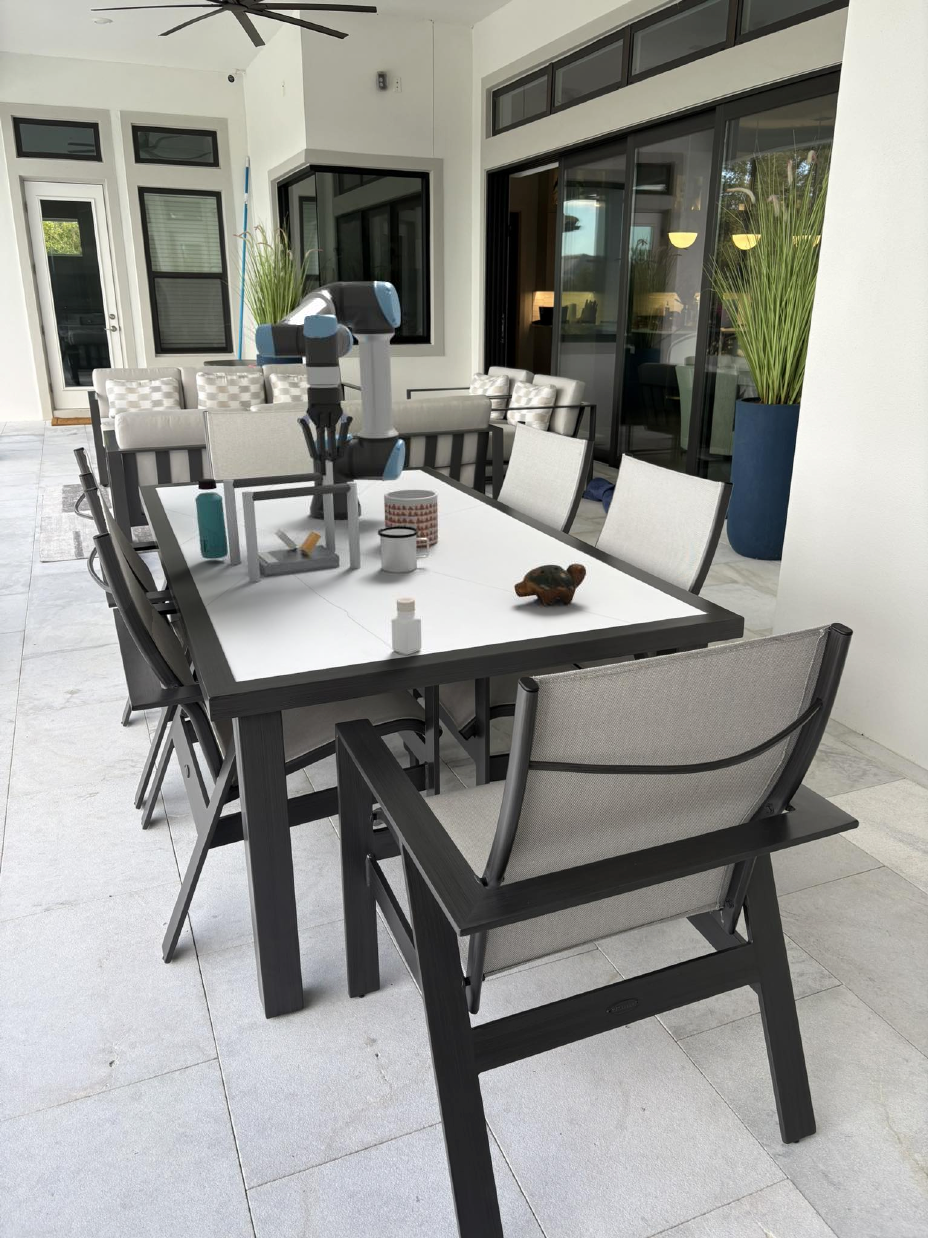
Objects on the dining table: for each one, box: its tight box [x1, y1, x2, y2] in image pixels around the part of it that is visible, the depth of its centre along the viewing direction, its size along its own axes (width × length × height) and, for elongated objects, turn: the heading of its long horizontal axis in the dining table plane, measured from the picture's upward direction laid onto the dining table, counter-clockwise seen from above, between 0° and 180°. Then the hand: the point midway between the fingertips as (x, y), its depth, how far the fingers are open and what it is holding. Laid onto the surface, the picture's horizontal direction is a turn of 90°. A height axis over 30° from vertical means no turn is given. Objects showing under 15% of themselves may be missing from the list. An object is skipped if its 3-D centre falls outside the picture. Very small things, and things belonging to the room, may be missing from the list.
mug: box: [377, 526, 430, 574], centre depth 209 cm, size 12×10×9 cm
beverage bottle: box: [194, 478, 229, 560], centre depth 213 cm, size 6×7×20 cm
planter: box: [383, 488, 439, 549], centre depth 232 cm, size 14×14×13 cm
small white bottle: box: [391, 596, 422, 656], centre depth 157 cm, size 4×4×10 cm
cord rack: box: [222, 472, 361, 583], centre depth 209 cm, size 26×19×20 cm
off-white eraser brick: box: [274, 528, 298, 550], centre depth 216 cm, size 2×3×6 cm
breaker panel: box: [258, 544, 340, 577], centre depth 212 cm, size 18×12×3 cm, turn 118°
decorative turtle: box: [514, 563, 587, 607], centre depth 184 cm, size 10×15×8 cm, turn 107°
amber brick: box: [299, 530, 322, 555], centre depth 213 cm, size 2×3×6 cm
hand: (328, 488), depth 211 cm, fingers closed
